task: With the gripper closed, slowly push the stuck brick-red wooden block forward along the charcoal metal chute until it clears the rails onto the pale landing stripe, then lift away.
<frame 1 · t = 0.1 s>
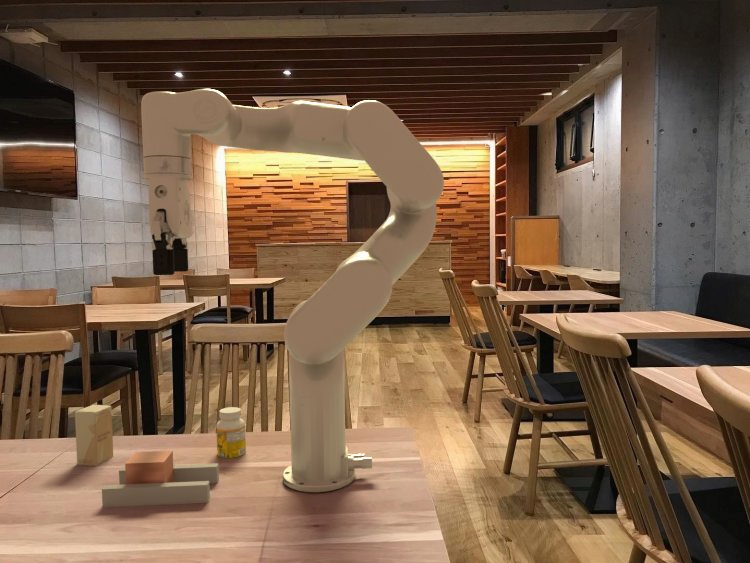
hand: (171, 273, 99), 37 cm above the table, tool pointing down, fingers open, 9 cm apart
jammed block: (150, 474, 96), point 4 cm above the table, slide at 0.0 cm
box: (96, 467, 111), on the table
chute: (138, 500, 96), on the table
supplement bottle: (231, 459, 114), on the table
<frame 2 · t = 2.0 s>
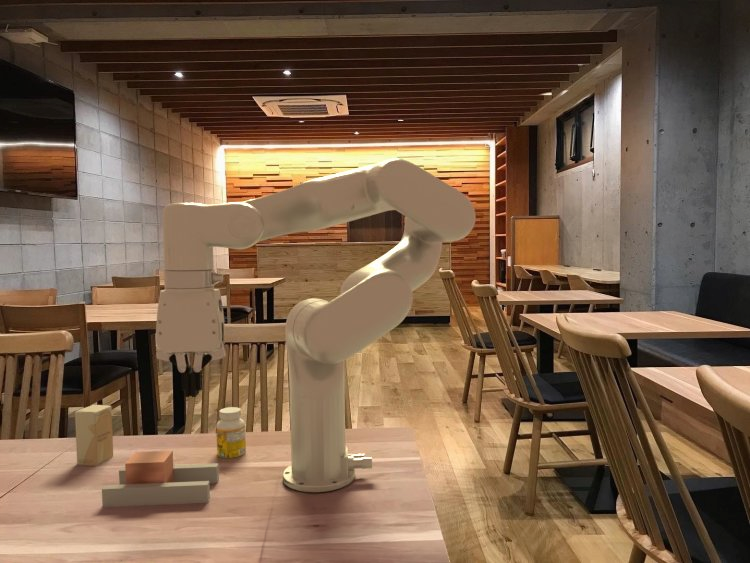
hand: (192, 394, 95), 17 cm above the table, tool pointing down, fingers closed
nothing on the table moved.
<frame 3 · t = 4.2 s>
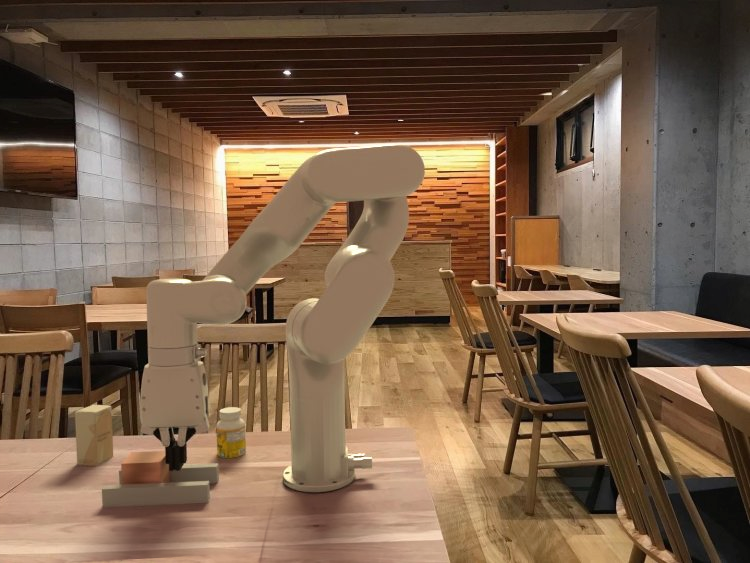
hand: (176, 467, 96), 5 cm above the table, tool pointing down, fingers closed
jammed block: (146, 475, 96), point 4 cm above the table, slide at 0.6 cm, touching gripper
everything else where it was.
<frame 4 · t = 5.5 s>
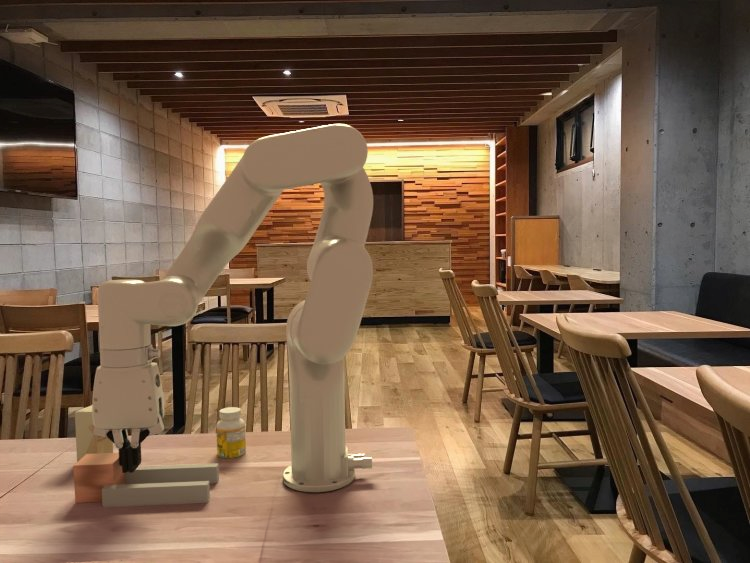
hand: (130, 469, 95), 5 cm above the table, tool pointing down, fingers closed
jammed block: (100, 476, 95), point 4 cm above the table, slide at 7.9 cm, touching gripper
everything else where it was.
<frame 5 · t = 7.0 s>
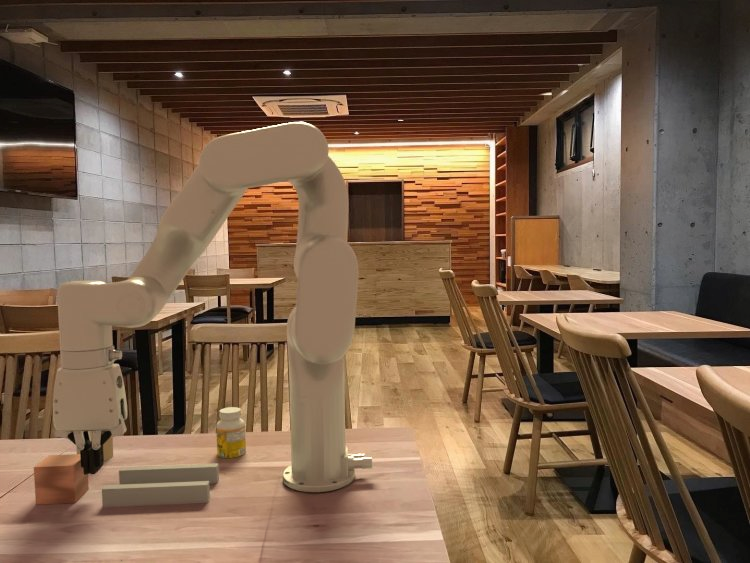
hand: (92, 471, 95), 5 cm above the table, tool pointing down, fingers closed
jammed block: (62, 478, 95), point 4 cm above the table, slide at 13.9 cm, touching gripper
everything else where it was.
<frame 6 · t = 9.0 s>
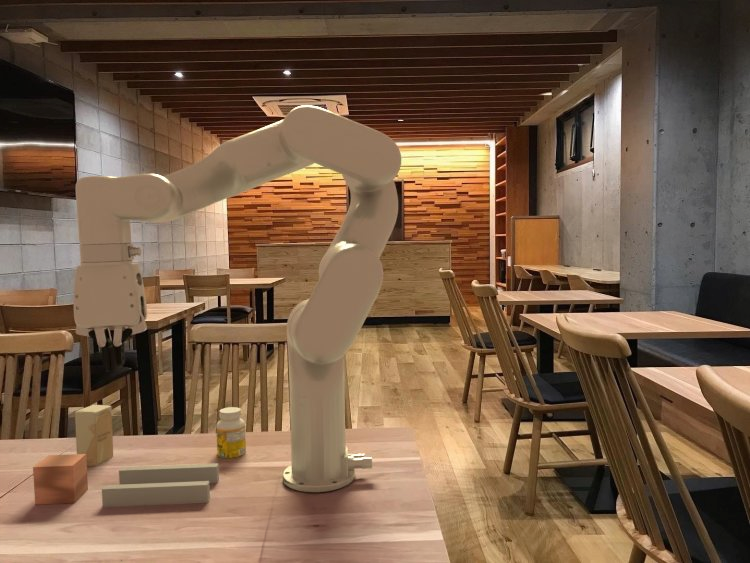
hand: (114, 369, 95), 21 cm above the table, tool pointing down, fingers closed
jammed block: (61, 478, 95), point 4 cm above the table, slide at 14.0 cm
everything else where it was.
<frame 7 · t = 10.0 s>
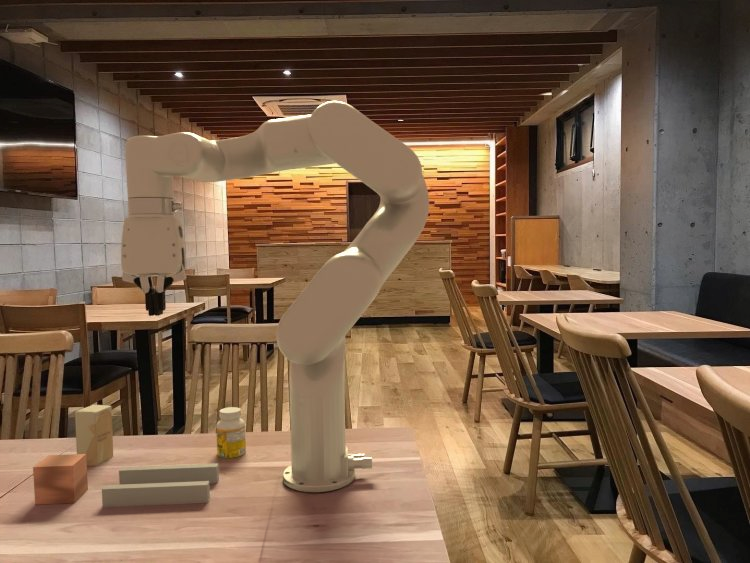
hand: (156, 314, 104), 29 cm above the table, tool pointing down, fingers closed
nothing on the table moved.
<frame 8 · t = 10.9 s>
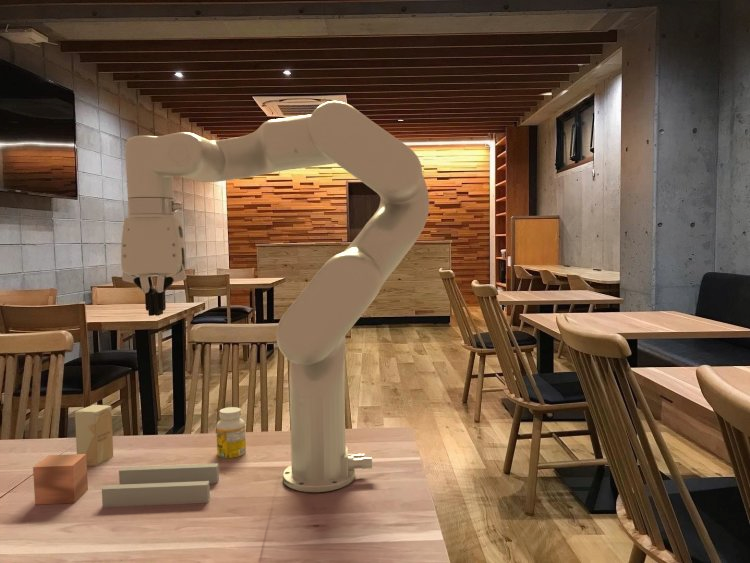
hand: (156, 314, 104), 29 cm above the table, tool pointing down, fingers closed
nothing on the table moved.
at the end: jammed block slide at 14.0 cm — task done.
